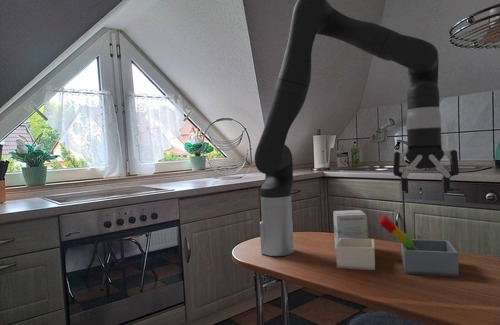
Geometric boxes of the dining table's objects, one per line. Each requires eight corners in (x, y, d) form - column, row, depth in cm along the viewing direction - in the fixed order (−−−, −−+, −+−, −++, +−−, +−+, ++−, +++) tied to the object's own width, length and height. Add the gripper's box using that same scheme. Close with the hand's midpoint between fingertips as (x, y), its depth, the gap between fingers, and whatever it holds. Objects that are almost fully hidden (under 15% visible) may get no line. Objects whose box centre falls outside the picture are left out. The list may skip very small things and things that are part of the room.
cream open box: (336, 268, 91) (336, 246, 90) (340, 257, 99) (339, 237, 99) (375, 270, 88) (374, 248, 87) (374, 259, 96) (374, 239, 96)
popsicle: (434, 261, 85) (384, 218, 88) (428, 267, 85) (378, 223, 89) (430, 255, 90) (383, 214, 93) (425, 260, 91) (378, 219, 94)
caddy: (405, 273, 84) (404, 250, 84) (401, 259, 95) (400, 239, 95) (458, 276, 81) (458, 252, 80) (448, 261, 91) (448, 240, 91)
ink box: (362, 247, 108) (361, 208, 108) (369, 255, 100) (367, 213, 99) (334, 247, 109) (332, 209, 109) (338, 256, 101) (336, 214, 100)
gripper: (393, 128, 85) (395, 195, 86) (460, 124, 81) (461, 195, 81) (391, 129, 93) (393, 191, 93) (453, 126, 88) (454, 191, 88)
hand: (425, 193), depth 87 cm, fingers open, 8 cm apart
